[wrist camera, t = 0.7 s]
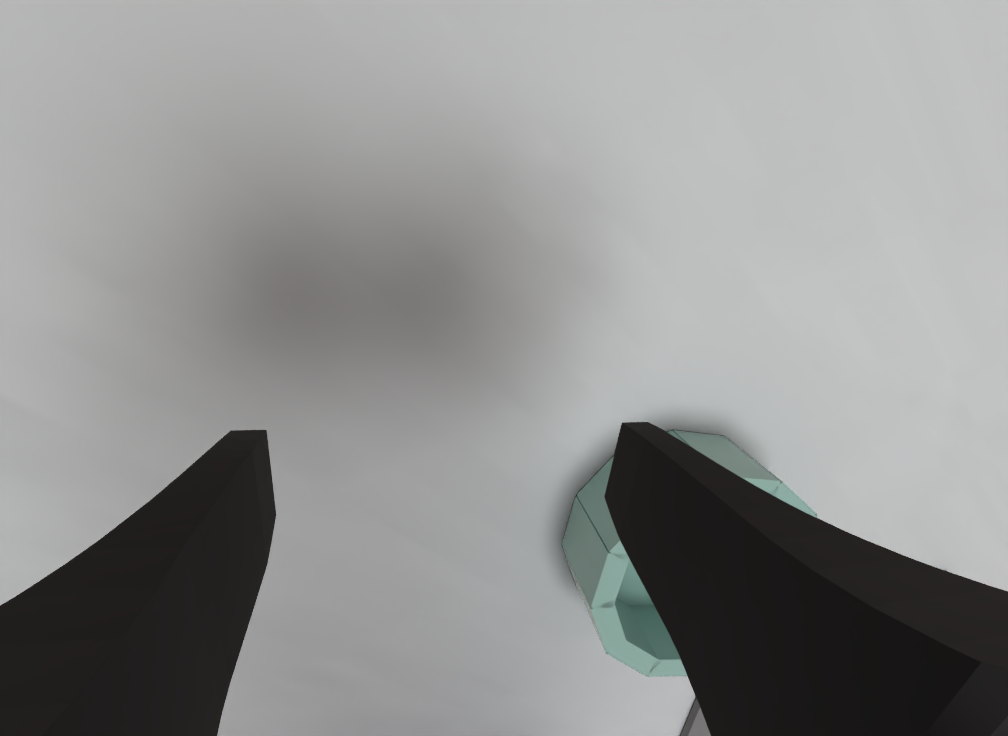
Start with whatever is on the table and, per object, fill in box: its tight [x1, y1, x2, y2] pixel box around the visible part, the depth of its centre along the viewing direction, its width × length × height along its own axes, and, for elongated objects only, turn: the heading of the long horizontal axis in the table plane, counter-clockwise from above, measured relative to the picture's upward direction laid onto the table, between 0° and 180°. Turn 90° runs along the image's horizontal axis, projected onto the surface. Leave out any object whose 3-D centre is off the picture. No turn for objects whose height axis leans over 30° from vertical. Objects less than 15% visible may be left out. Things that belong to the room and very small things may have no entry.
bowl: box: [562, 430, 817, 677], centre depth 24 cm, size 10×10×4 cm
